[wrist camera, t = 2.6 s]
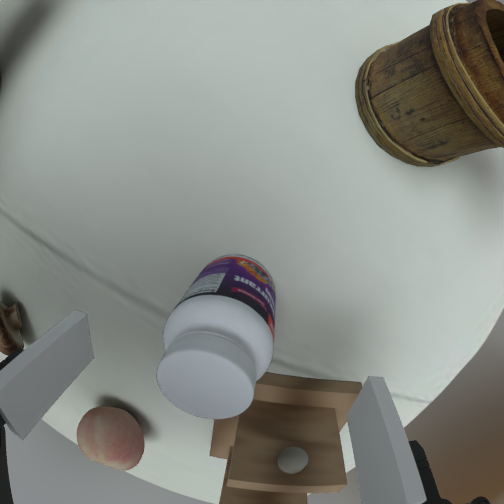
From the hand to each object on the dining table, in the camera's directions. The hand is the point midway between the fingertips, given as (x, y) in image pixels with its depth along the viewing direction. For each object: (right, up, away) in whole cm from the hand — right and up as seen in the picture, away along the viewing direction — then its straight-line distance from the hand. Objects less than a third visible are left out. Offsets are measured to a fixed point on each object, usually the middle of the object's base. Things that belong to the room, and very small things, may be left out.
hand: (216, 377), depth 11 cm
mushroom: (-28, -2, +12) cm, 31 cm away
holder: (+4, -12, +12) cm, 17 cm away
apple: (-14, -14, +15) cm, 24 cm away
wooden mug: (+15, +15, +3) cm, 21 cm away
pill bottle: (0, +3, +8) cm, 9 cm away
